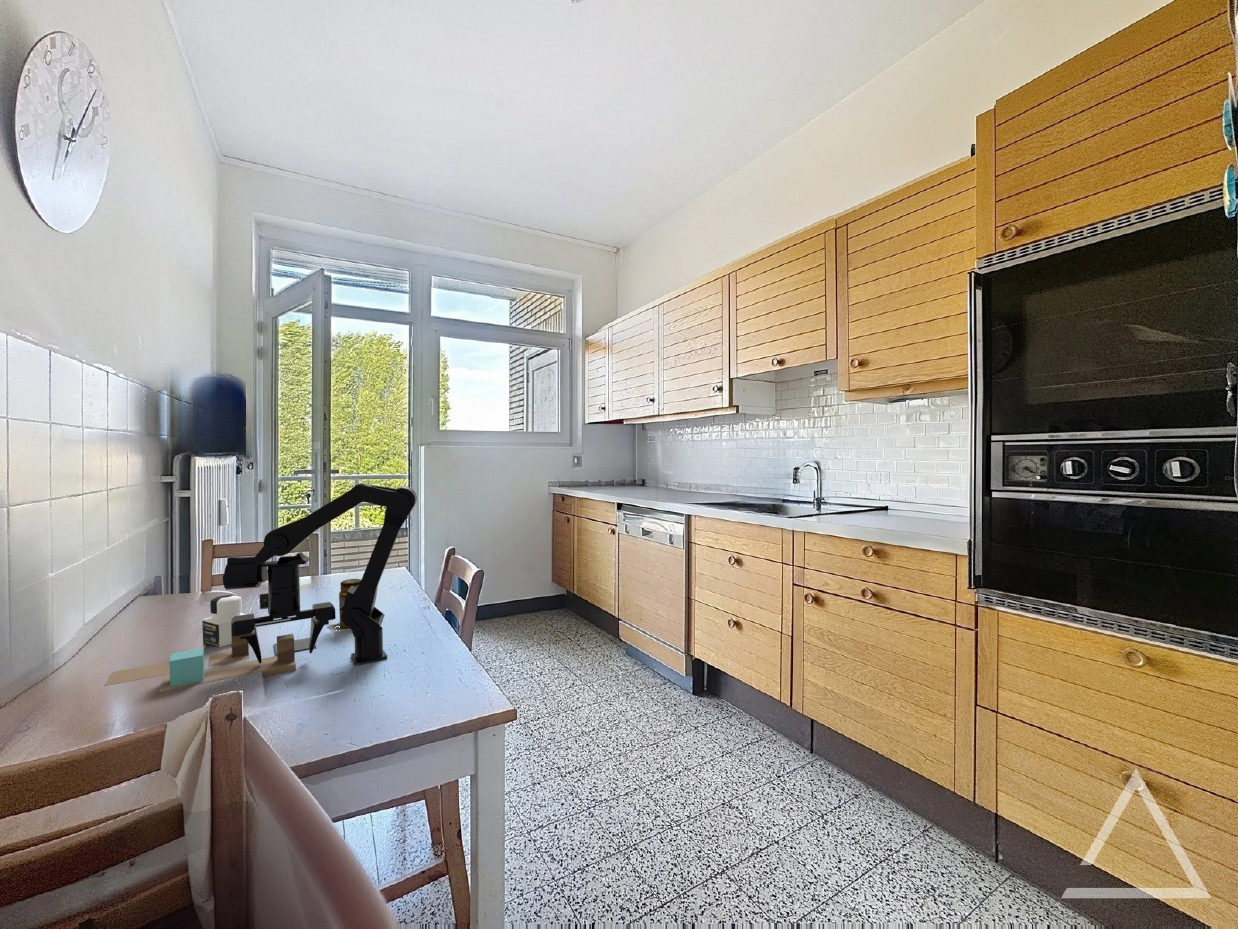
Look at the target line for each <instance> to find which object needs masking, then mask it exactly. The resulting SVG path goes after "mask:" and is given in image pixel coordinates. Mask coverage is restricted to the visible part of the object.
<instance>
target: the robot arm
mask: <svg viewBox="0 0 1238 929" xmlns="http://www.w3.org/2000/svg"><path fill="white" fill-rule="evenodd" d="M417 496H418V495H417V494H416V491H415V490H413V488H412V487H409V486H406V485H402V486H398V487H396V488H393V487H386V486H380V485H374V484H373V485H372V484H369V483H367V482H361V483H358V484H355V485H354V486H353V487H352V488H351V489H350V490H349V489H348V491H346V492H345V493H343V494H341V495H339V496H337V497H336V498H335V499H333V500H331V501H330V502H328V503H326V504H324V505H323V506H322V507H320V508H318V509H316V510H314V511H312V512H310V513H309V514H308V515H305V516H304V517H302V518H299V519H296V520H294V521H291V522H288V523H286V524H284V525H281V526H279V527H277V528H274V529H272V530H269V532H268V533H267V534H266V535H265V536H264V539H263V546H262V547H261V549H260V550H259V551H258V552H257V553H256V555H244V556H241V555H232V556H230V557H229V556H228V557H227V558H226V565H225V568H224V572H223V575H222V583H223V588H224V589H225V590H228V591H229V590H240V589H241V590H242V589H254V588H255V589H256V588H260V587H261V586H262V583H265V582H266V581H267V586H268V588H267V590H268V593H267V592H266V593H260V594H259V610H266V609H267V614H268V615H265V616H260V617H255V613H254V612H253V613H248V614H247V613H245V614H246V615H239V616H234V617H233V618H232V620H231V636H239V638H240V639H246V640H247V642H248V643H249V646H250V647H251V649H252V650H253V653H254V655H255V657H256V660H258V662H259V663H262V659H263V657H262V652H261V648H260V647H261V646H260V642H259V637H258V630H257V628H258V627H266V626H270V625H276V624H277V625H278V624H282V623H289V622H294V621H300V620H301V621H302V620H307V619H310V631H309V638H310V641H309V651H308V652H309V655H310V654H312V653H313V652H314V649H315V648H314V646H315V645H316V643H317V640H318V638H319V636H320V634H321V632H322V631H323V628H324V626H325V625H330V621H334V620H335V619H336V618H337V617H336V608H335V606H334V605H333V603H331V601H328V602H321V603H320V602H319V603H313V604H312V608H310V609H303V610H301V596H300V595H301V593H300V592H301V590H300V589H301V588H300V586H301V585H300V565H306V564H307V563H308V562H310V560H311V558H310V557H308V556H307V555H305V554H304V553H303V552H302V551H299V552H297V553H296V555H288V554H290V553H291V552H292V551H294V550H296V549H298V547H299V546H301V545H302V544H303V543H304V542H305V541H306V540H307V539H309V537H311V536H312V535H313V534H314V533H315V532H317V531H318V529H320V528H321V527H323V526H325V525H327V524H328V523H330V522H333V520H335V519H336V518H339V517H340V516H342V515H344V514H345V513H346V512H348V511H350V510H351V509H353V508H354V507H356V506H358V505H359V504H361V503H368V504H372V505H376V506H381V507H385V511H384V518H383V525H382V527H381V530H380V532H379V534H378V537H377V539H376V543H375V545H374V547H373V550H372V552H371V555H370V557H369V560H368V562H367V565H366V567H365V570H364V572H363V575H362V577H361V582H360V584H359V586H358V587H357V588H356V587H354V586H351V587H350V589H349V590H348V592H347V594H346V598H345V602H344V604H343V605H342V607H341V608H340V611H341V610H343V612H342V615H341V619H342V621H343V623H344V624H345V625H346V626H347V627H350V629H351V630H350V631H351V633H352V636H353V637H354V652H353V653H351V654H350V657H351V659H352V660H353V663H354V664H355V665H361V664H366V663H370V662H374V661H378V660H379V661H380V660H385V659H387V658H388V654H387V653H386V651H385V650H384V643H383V642H384V640H383V639H384V638H383V637H384V636H383V635H384V634H383V633H384V632H383V627H382V624H383V622H384V617H385V614H384V612H382V611H381V610H380V609H378V608H377V607H376V606H375V605H376V601H377V594H378V589H379V584H380V581H381V578H382V576H383V574H384V570H385V568H386V566H387V563H388V561H389V558H390V556H391V553H392V551H393V548H394V545H395V543H396V540H397V538H398V535H399V533H400V530H401V529H402V526H403V525H404V523H405V522H406V520H407V519H408V517H409V515H410V513H411V512H412V511H413V509H414V507H415V505H416V504H417V501H418V497H417ZM287 555H288V556H287ZM274 557H279V558H278V560H274V561H273V560H271V559H273V558H274ZM269 560H271V561H269Z"/></svg>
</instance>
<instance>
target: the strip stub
mask: <svg viewBox="0 0 1238 929" xmlns="http://www.w3.org/2000/svg"><path fill="white" fill-rule="evenodd" d="M231 637H232V644H231V650H227V651H222V652H217V653H211V654H210V655H209V659H208V660H209V662H208V667H210V666H211V667H212V666H216V665H223V664H227V663H232V662H238V661H244V660H249V659H250V648H249V646H250V644H249V643H248V642H247V640H246V639H240V638H239V636H231Z"/></svg>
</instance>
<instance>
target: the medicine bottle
mask: <svg viewBox="0 0 1238 929" xmlns="http://www.w3.org/2000/svg"><path fill="white" fill-rule="evenodd" d="M242 598H243V597H242V596H241V595H239V594H224V595H219V596H216V597H214V598H212V599H211V600H210V602H209V603H210V604H209V606H210V616H209V617H205V618H203V619H201V620H202V648H204V649H205V648H210V647H215V648H222V647H225V646H229V645H232V637H231V620H232V618H233V617H234V616H239V615H246V614H247V613H243V603H242V602H243V601H242Z"/></svg>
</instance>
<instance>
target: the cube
mask: <svg viewBox="0 0 1238 929" xmlns="http://www.w3.org/2000/svg"><path fill="white" fill-rule="evenodd" d="M170 655H171V656H170V658H169V661H168V662H169V663H170V674H169V677H170V687H174V686H179V685H184V684H189V683H194V682H199V681H203V679H204V673H205V670H206V669H205V648H203V647H200V648H195V649H190V650H184V651H178V652H173V653H171V654H170Z"/></svg>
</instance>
